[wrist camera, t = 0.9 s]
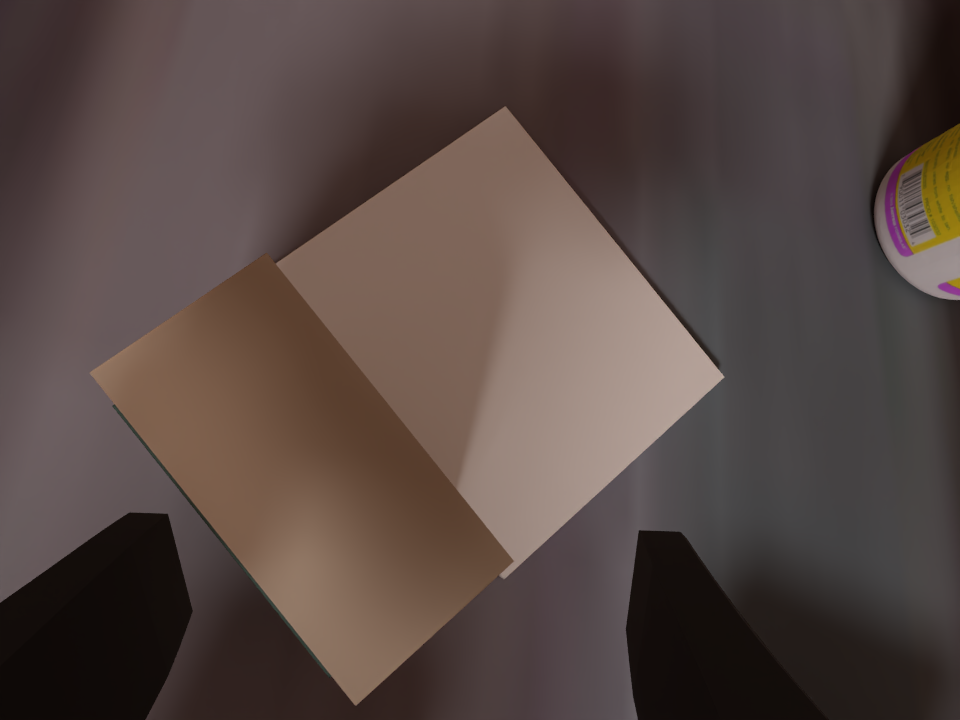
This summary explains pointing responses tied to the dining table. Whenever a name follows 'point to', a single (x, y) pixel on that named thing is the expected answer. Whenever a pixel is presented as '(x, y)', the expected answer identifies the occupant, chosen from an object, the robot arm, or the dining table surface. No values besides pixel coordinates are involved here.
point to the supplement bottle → (924, 216)
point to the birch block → (304, 474)
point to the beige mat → (504, 330)
